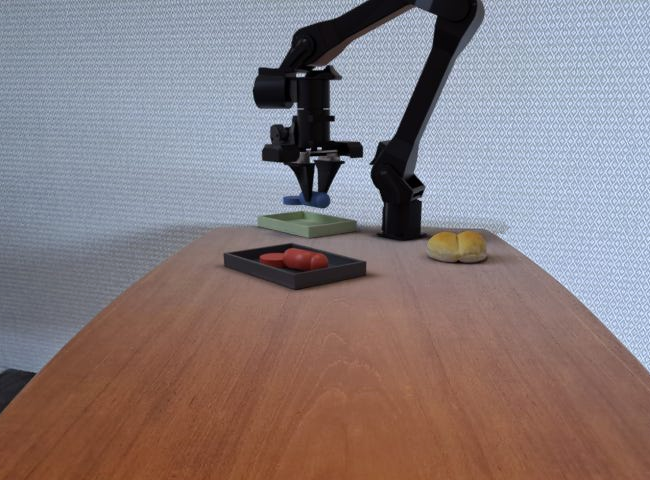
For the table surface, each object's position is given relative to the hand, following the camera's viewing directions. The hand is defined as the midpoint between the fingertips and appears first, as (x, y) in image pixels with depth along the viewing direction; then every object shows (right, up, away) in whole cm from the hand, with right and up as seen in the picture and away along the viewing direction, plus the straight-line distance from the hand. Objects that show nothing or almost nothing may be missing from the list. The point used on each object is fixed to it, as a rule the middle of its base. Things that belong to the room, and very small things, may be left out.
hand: (314, 201), depth 122 cm
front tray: (-2, -16, -28) cm, 32 cm away
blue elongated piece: (-2, 0, +2) cm, 3 cm away
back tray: (-2, -4, +4) cm, 6 cm away
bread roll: (+22, -13, -20) cm, 33 cm away
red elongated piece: (-2, -16, -29) cm, 33 cm away
